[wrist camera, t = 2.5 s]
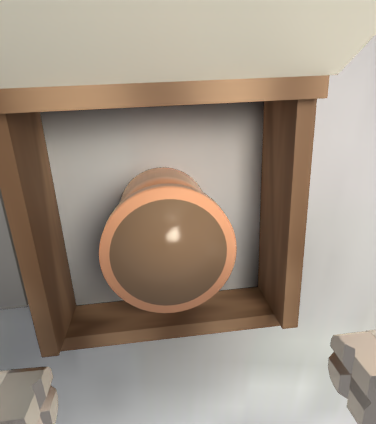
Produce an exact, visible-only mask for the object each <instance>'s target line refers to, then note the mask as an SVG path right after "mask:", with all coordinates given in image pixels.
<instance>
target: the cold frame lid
mask: <svg viewBox="0 0 376 424" xmlns="http://www.w3.org/2000/svg"><path fill="white" fill-rule="evenodd" d="M375 35H376V0H0V89H5V88H29V87H53V86H78V85H102V84H127V83H151V82H176V81H200V80H225V79H249V78H274V77H298V76H322V75H338V74H339V73H340V72H341V71H342V70H343V69H344V68H345V66H346V65H347V64H348V63H349V62H350V61H351V60H352V59H353V58H354V57H355V56H356V55H357V54H358V53H359V52H360V51H361V49H362V48H363V47H364V46H365V45H366V44H367V43H368V42H369V41H370V40H371V39H372V38H373V37H374V36H375Z"/></svg>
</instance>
